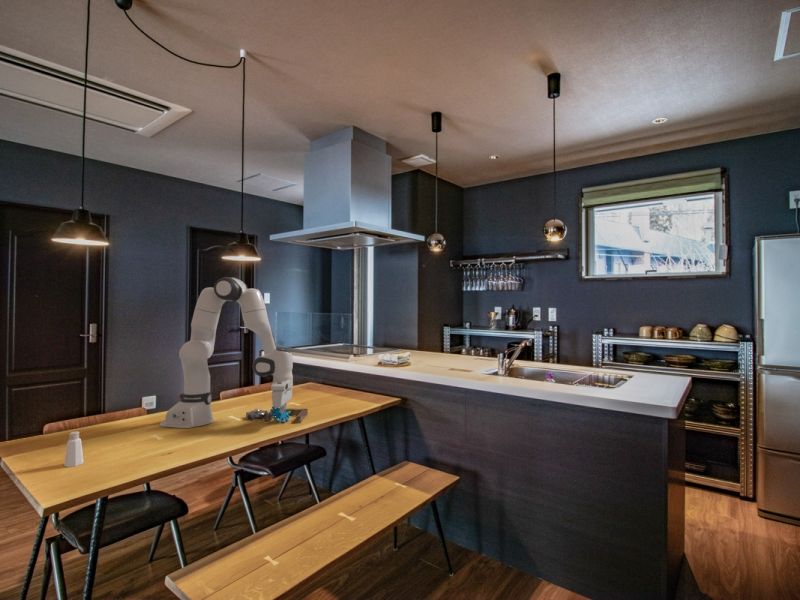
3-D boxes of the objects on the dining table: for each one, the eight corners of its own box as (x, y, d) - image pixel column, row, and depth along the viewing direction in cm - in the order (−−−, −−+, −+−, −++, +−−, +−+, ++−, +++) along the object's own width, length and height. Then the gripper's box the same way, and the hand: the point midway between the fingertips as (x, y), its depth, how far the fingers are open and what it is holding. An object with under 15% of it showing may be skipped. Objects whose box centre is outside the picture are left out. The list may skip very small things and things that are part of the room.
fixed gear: (242, 420, 201) (242, 412, 201) (250, 414, 211) (250, 406, 211) (264, 420, 201) (264, 412, 201) (270, 414, 211) (270, 406, 211)
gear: (275, 422, 192) (268, 404, 198) (269, 429, 194) (262, 411, 200) (295, 420, 201) (288, 403, 206) (289, 427, 203) (281, 410, 208)
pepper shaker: (87, 461, 149) (87, 430, 149) (76, 467, 143) (76, 434, 144) (71, 461, 149) (72, 430, 149) (59, 467, 143) (60, 434, 143)
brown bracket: (264, 422, 197) (264, 416, 197) (273, 414, 212) (273, 408, 212) (300, 423, 197) (300, 416, 197) (307, 414, 212) (307, 408, 212)
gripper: (282, 379, 208) (282, 407, 208) (269, 387, 188) (269, 418, 187) (295, 379, 208) (295, 407, 208) (283, 387, 187) (283, 418, 187)
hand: (283, 412), depth 197 cm, fingers closed
